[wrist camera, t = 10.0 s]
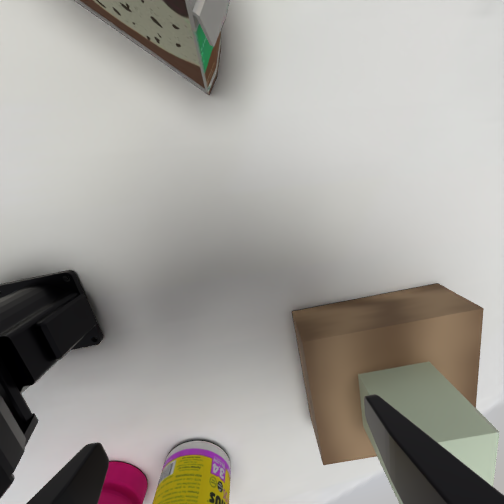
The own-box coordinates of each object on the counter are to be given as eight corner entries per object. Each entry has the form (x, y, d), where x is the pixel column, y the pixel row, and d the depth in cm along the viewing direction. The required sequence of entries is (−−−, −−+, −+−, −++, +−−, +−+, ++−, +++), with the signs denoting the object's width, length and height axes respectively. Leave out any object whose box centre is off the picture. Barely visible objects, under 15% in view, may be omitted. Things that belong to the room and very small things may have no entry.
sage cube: (363, 426, 19) (402, 510, 14) (358, 374, 17) (400, 448, 13) (428, 414, 19) (491, 496, 14) (429, 361, 17) (499, 431, 12)
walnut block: (311, 418, 24) (323, 465, 20) (291, 311, 20) (302, 342, 17) (435, 397, 23) (473, 440, 20) (437, 283, 20) (483, 308, 16)
